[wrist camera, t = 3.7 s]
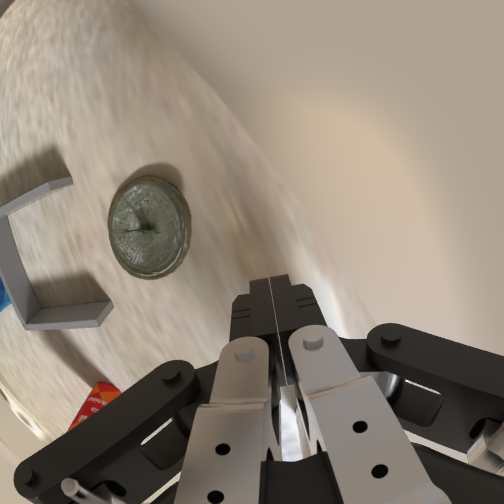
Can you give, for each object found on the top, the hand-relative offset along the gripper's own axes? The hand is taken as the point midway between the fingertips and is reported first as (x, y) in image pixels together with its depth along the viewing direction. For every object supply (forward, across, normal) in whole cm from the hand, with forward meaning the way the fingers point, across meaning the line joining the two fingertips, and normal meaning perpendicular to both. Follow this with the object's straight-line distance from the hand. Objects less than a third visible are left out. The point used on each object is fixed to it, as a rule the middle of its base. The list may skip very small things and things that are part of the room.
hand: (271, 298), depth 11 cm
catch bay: (+18, +27, 0) cm, 33 cm away
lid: (+18, +11, -1) cm, 21 cm away
